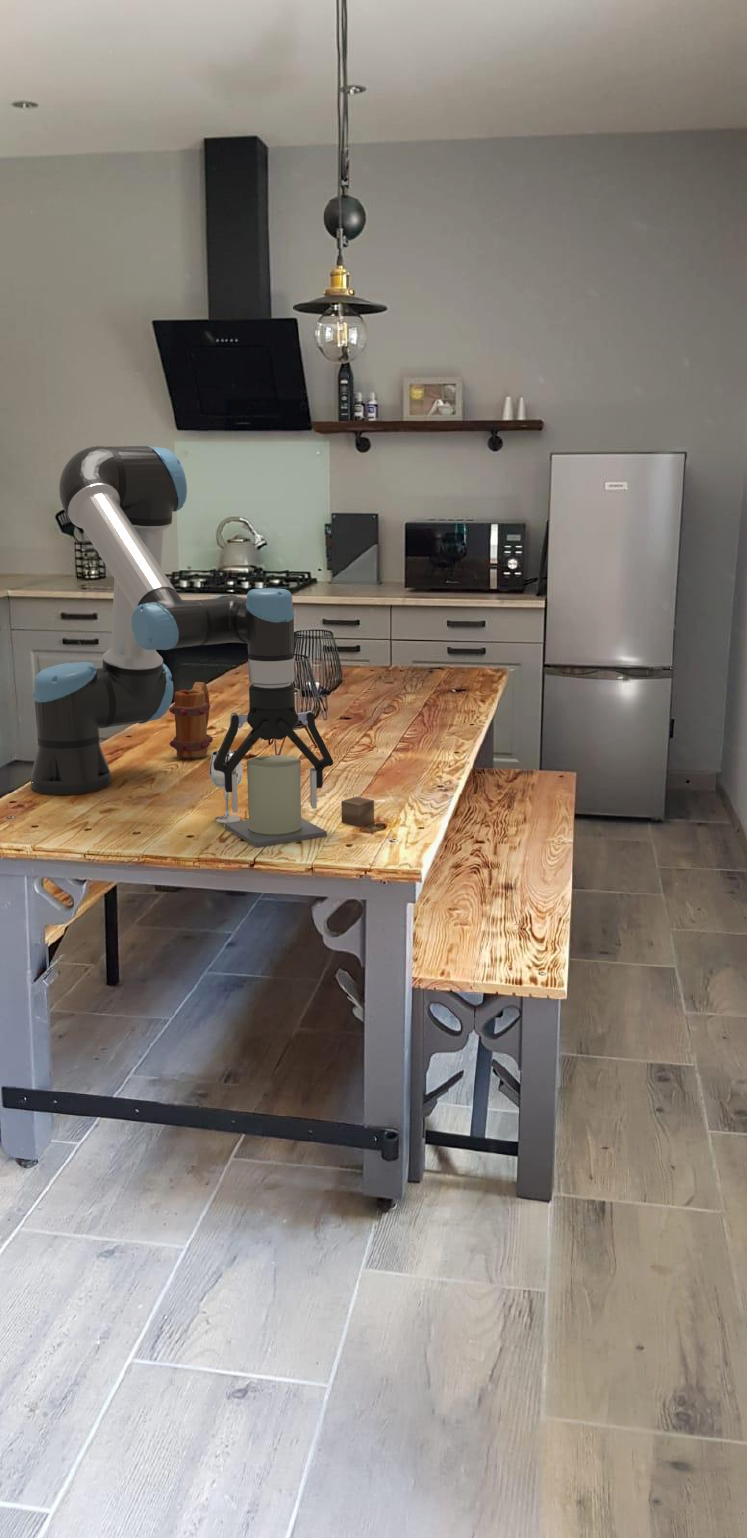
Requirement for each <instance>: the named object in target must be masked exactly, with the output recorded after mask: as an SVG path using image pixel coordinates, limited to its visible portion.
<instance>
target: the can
mask: <svg viewBox="0 0 747 1538" xmlns="http://www.w3.org/2000/svg"><path fill="white" fill-rule="evenodd" d="M245 763H246V773H247V775H246V776H247V807H248V808H247V809H248V810H247V811H248V815H247V817H248V819H247V820H248V829H249V830H250V831H252V832H254V833H258V834H264V835H282V834H289V833H293V832H296V831H298V830H300V829H301V828H302V822H301V818H302V800H301V798H302V797H301V789H302V788H301V766H302V765H301V763H302V761H301V759H300V758H297V757H295V756H292V755H281V754H269V755H260V756H259V755H258V756H255V757H251V758H249V759H248V760H247V761H246V762H245Z"/></svg>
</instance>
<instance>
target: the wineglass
mask: <svg viewBox="0 0 747 1538" xmlns="http://www.w3.org/2000/svg"><path fill="white" fill-rule="evenodd" d="M218 751H219V750H216V751H213V752H211V757H210V760H209V761H210V762H209V770H208V771H209V773H208V774H209V778H210V781H211V783H212V784H213V785H214V786H215V787H217V788H220V789H224V791H223V796H224V800H225V813H224V815H219V816H217V817H215V818H214V821H215V822H217V823H222V824H224V823H230V822H236V821H241V818H240V817H239V816H237V815H233V814H231V813H230V810H229V800H230V795H231V792H226V790H225V777H224V773H223V772H221V771H216V770H215V769H214V766H213V763H214V760H215V758H216V756H217V754H218ZM235 752H236V750H232V749H230V750H229V752H228V754H227V756H226V758H225V761H224V763H225V764H226V763H227V762H228V761H229V759H230V758H231V757H232V755H233V754H234V753H235ZM233 771H236V774H237V786H238V785H239V784H241V782H242V778H243V773H244V772H243V771H244V770H243V763H242V760H241V761H240V762H239V764H238V765H237V766H236V768H235V769H234V770H233Z"/></svg>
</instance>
